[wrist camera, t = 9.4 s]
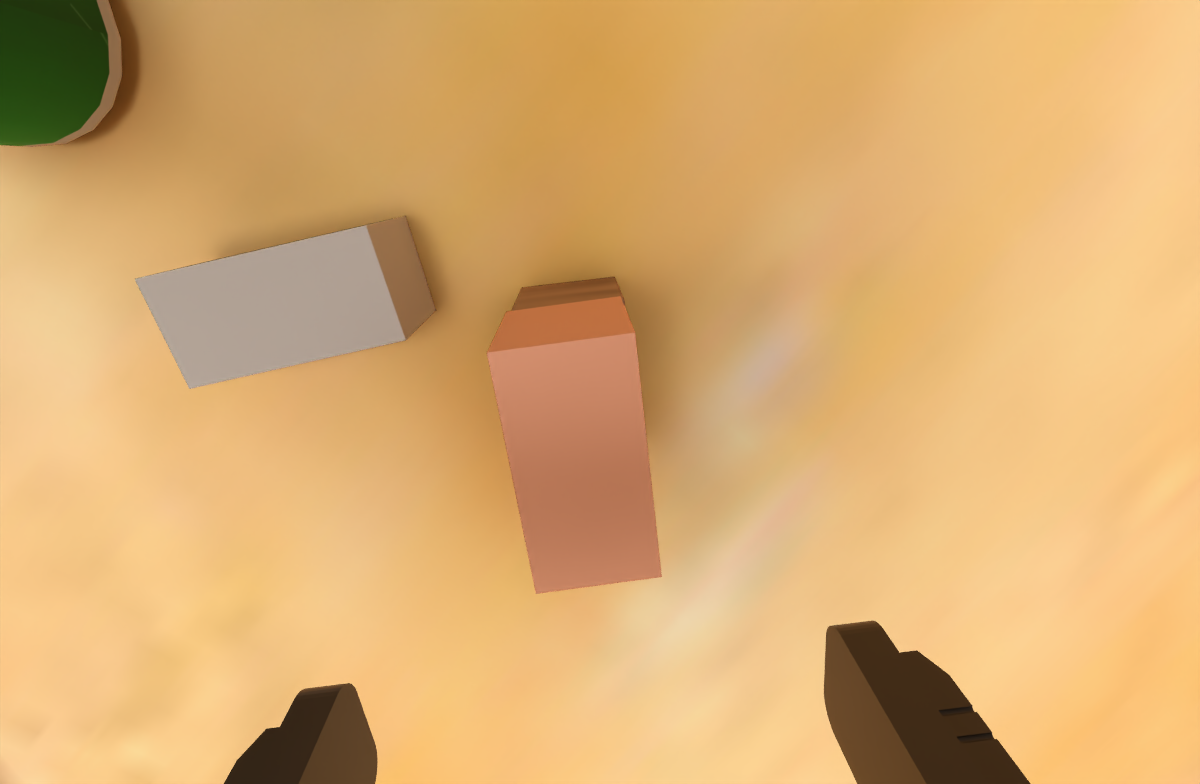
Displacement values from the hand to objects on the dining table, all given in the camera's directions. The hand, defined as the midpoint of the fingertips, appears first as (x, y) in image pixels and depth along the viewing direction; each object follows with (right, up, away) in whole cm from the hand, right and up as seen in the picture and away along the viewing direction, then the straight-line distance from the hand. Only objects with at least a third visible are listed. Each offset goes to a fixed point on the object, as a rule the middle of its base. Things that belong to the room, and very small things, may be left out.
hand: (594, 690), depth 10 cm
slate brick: (-11, +10, +15) cm, 21 cm away
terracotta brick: (-1, +4, +12) cm, 13 cm away
